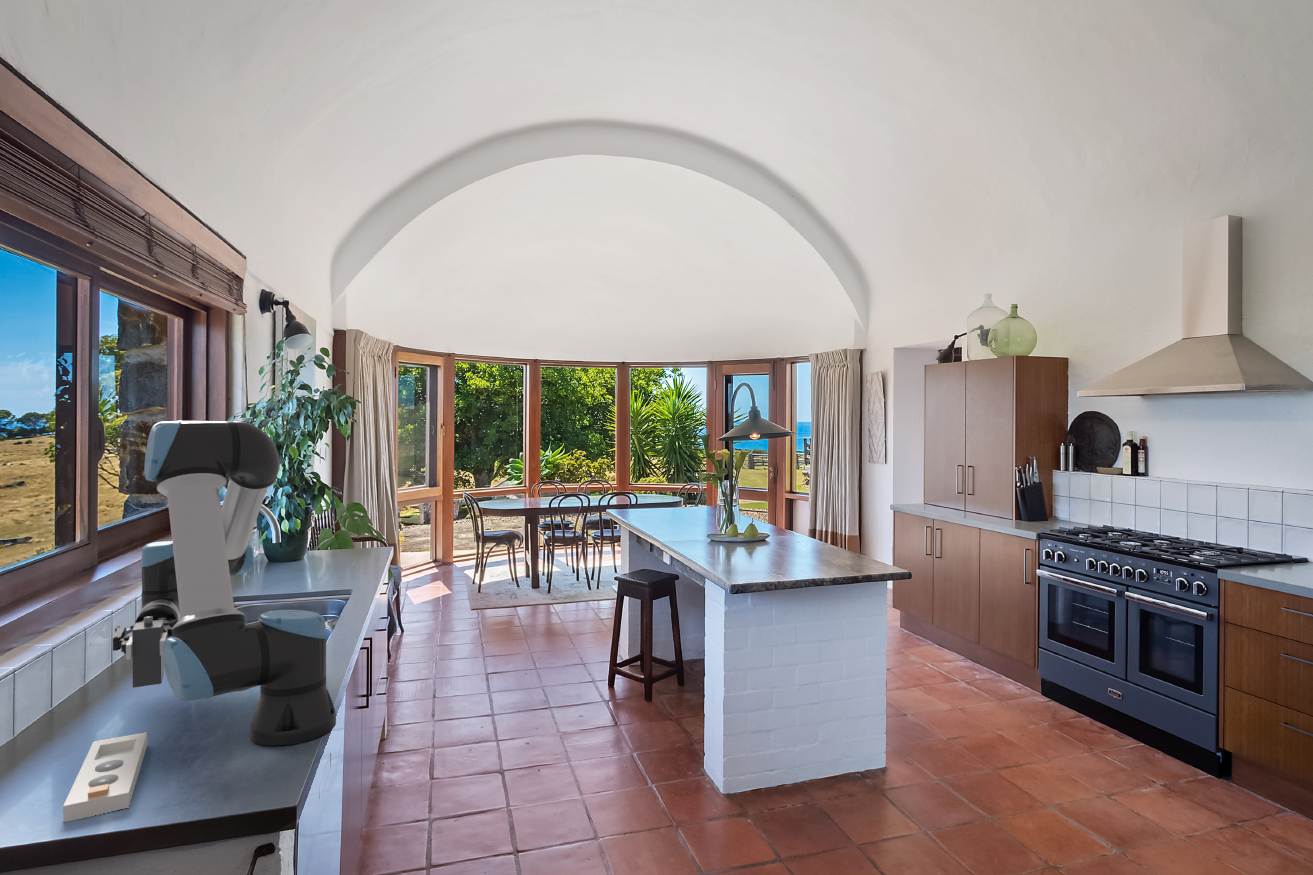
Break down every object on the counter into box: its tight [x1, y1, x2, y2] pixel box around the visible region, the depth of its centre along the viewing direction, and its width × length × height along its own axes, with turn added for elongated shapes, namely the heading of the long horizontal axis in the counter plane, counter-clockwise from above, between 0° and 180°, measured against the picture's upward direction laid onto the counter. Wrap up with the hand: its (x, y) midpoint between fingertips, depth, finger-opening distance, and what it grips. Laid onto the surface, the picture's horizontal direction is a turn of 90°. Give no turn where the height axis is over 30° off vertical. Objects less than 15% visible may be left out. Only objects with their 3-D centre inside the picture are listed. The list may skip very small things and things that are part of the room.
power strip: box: [62, 731, 148, 823], centre depth 122 cm, size 26×8×3 cm, turn 30°
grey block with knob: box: [132, 616, 165, 688], centre depth 141 cm, size 6×4×12 cm
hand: (145, 649), depth 136 cm, fingers closed on grey block with knob, 4 cm apart
